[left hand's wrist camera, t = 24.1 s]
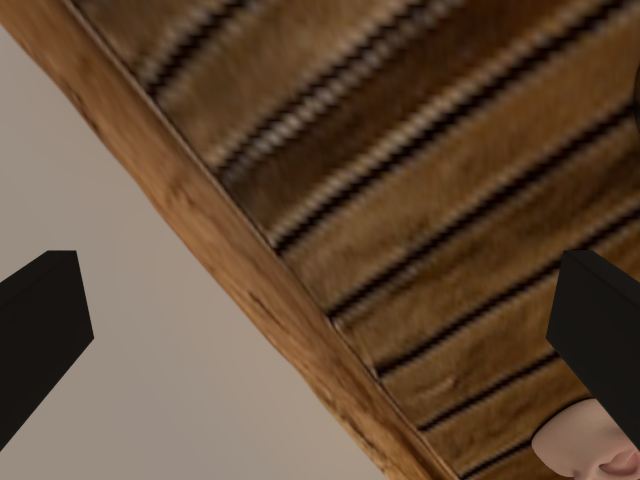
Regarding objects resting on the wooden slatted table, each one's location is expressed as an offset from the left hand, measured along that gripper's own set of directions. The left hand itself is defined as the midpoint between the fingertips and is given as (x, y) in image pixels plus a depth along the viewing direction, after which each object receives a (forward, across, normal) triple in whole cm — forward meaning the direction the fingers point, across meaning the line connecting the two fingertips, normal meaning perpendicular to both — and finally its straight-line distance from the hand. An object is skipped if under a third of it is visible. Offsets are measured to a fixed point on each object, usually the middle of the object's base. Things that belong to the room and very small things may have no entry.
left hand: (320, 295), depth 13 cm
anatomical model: (+27, +30, -32) cm, 51 cm away
